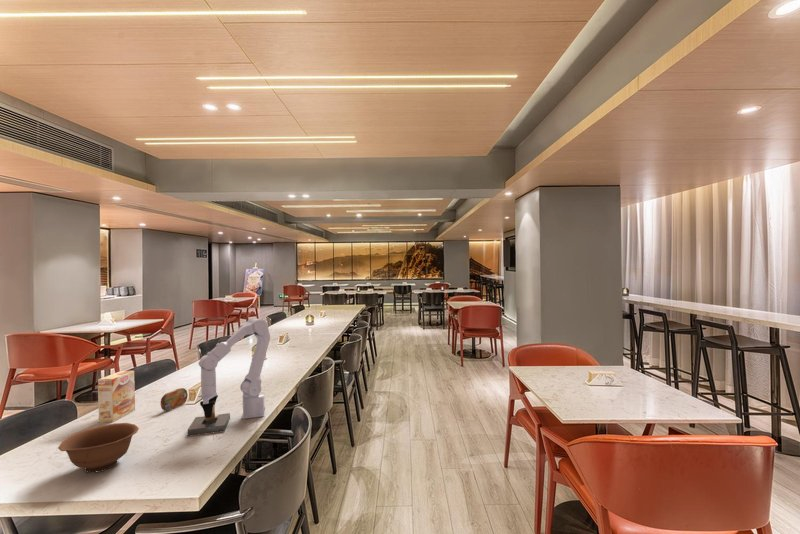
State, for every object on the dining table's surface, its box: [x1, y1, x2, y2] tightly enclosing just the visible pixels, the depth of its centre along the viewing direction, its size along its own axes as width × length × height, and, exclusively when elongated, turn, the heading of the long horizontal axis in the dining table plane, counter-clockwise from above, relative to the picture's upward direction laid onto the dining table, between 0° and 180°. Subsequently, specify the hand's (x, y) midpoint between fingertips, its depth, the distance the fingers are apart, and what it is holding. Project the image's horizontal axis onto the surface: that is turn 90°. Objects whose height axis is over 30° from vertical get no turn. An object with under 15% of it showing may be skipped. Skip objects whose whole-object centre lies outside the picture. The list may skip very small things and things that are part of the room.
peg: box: [204, 403, 216, 421], centre depth 165 cm, size 4×4×6 cm
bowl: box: [57, 422, 140, 473], centre depth 134 cm, size 22×22×11 cm
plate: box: [187, 412, 231, 437], centre depth 165 cm, size 14×14×3 cm
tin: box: [160, 387, 189, 412], centre depth 191 cm, size 15×3×8 cm, turn 168°
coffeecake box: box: [97, 370, 136, 423], centre depth 182 cm, size 15×7×20 cm, turn 0°
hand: (209, 415), depth 165 cm, fingers closed on peg, 4 cm apart
